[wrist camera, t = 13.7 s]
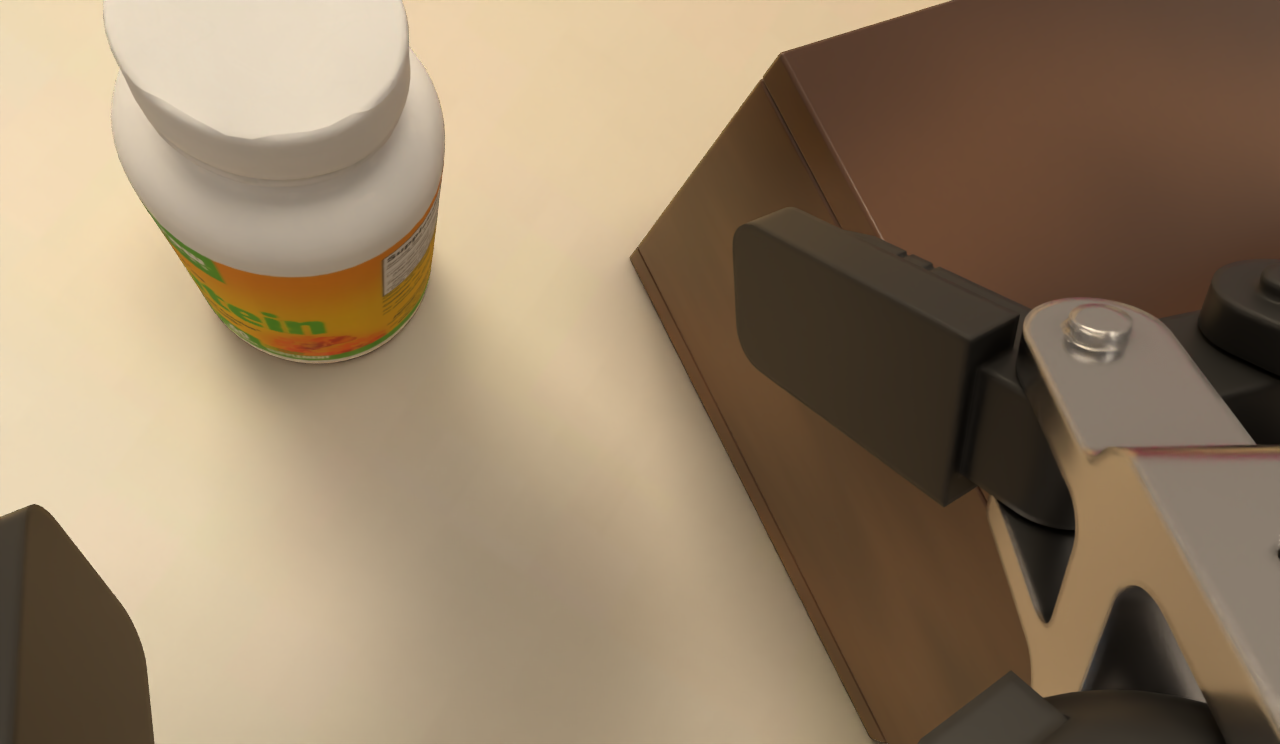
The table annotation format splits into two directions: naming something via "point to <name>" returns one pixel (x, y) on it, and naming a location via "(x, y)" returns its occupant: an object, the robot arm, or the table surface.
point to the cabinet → (963, 270)
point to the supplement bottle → (284, 161)
